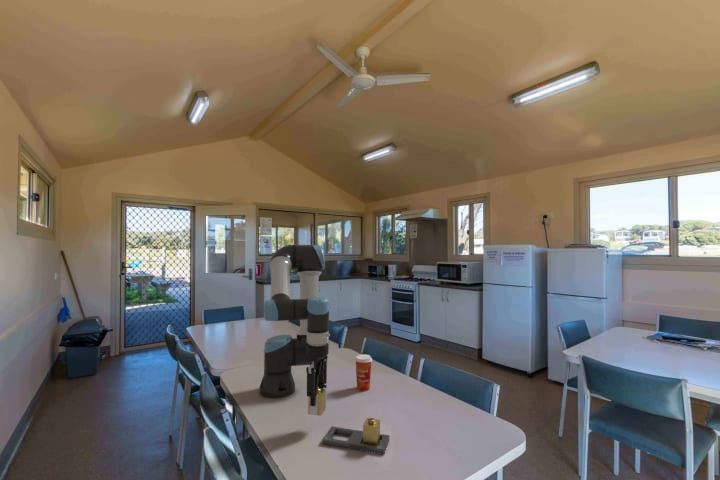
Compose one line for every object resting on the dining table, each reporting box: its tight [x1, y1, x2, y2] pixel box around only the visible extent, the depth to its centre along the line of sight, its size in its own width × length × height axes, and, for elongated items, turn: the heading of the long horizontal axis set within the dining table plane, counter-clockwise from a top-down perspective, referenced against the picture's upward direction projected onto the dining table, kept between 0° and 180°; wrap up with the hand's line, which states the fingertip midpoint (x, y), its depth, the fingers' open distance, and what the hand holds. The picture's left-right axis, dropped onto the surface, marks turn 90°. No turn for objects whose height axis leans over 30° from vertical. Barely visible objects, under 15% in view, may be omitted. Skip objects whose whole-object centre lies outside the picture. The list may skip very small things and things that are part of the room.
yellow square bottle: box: [307, 388, 327, 417], centre depth 116 cm, size 4×4×8 cm
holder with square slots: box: [322, 417, 390, 455], centre depth 109 cm, size 20×8×8 cm, turn 74°
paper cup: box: [354, 354, 373, 392], centre depth 151 cm, size 8×8×14 cm
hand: (316, 410), depth 116 cm, fingers closed on yellow square bottle, 4 cm apart
